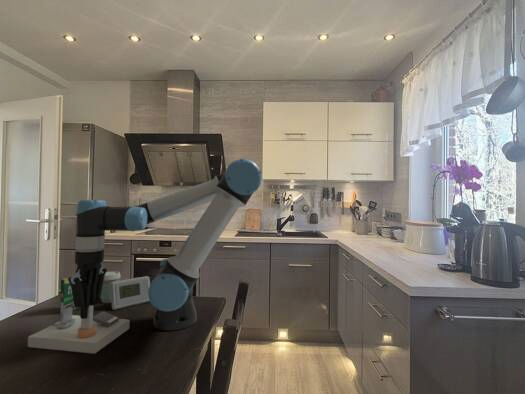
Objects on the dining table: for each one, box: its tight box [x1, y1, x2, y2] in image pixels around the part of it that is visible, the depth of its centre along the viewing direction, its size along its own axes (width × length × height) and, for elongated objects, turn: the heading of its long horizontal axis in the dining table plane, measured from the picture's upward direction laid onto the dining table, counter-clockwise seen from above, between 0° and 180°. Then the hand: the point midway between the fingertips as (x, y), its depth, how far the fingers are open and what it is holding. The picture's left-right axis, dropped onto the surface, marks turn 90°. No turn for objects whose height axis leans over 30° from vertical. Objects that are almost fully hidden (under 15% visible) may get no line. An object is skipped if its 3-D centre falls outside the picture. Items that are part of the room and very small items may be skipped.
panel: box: [27, 314, 131, 354], centre depth 87 cm, size 22×16×4 cm
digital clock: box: [110, 275, 151, 310], centre depth 116 cm, size 16×9×11 cm, turn 123°
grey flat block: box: [93, 311, 120, 327], centre depth 91 cm, size 6×5×1 cm
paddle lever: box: [56, 307, 75, 328], centre depth 88 cm, size 3×4×5 cm
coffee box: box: [59, 277, 81, 312], centre depth 109 cm, size 8×3×13 cm, turn 149°
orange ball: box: [78, 325, 97, 339], centre depth 83 cm, size 5×5×5 cm
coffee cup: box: [100, 271, 122, 304], centre depth 120 cm, size 8×8×12 cm
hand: (86, 327), depth 83 cm, fingers closed
